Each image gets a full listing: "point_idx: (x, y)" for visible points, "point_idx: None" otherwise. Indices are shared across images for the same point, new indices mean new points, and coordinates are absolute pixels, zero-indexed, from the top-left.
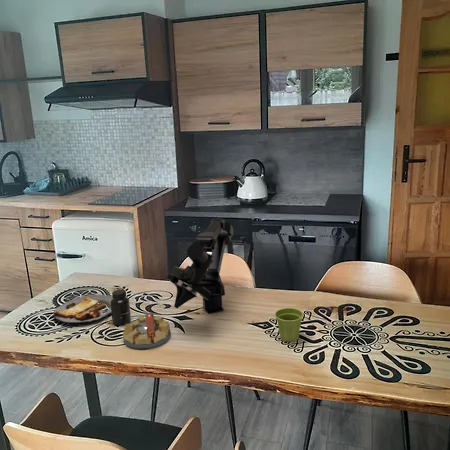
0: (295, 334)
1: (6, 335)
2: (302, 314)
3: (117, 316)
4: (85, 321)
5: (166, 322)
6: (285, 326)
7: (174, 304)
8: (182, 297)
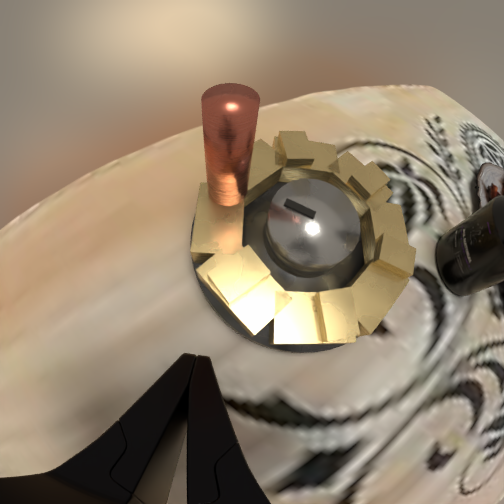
0: None
1: (474, 116)
2: None
3: (462, 222)
4: (478, 183)
5: (277, 331)
6: None
7: (212, 369)
8: (101, 443)
